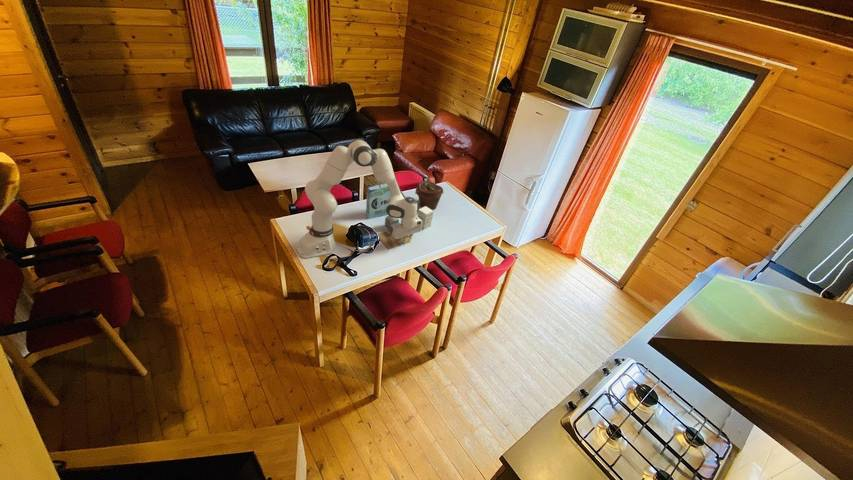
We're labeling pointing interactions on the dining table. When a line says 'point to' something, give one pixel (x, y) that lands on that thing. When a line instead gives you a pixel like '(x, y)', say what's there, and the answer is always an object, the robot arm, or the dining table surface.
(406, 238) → the yellow block
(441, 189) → the brown plant pot
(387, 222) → the dispenser
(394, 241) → the brown wooden board
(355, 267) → the dining table surface
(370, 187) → the gum box
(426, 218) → the supplement box
